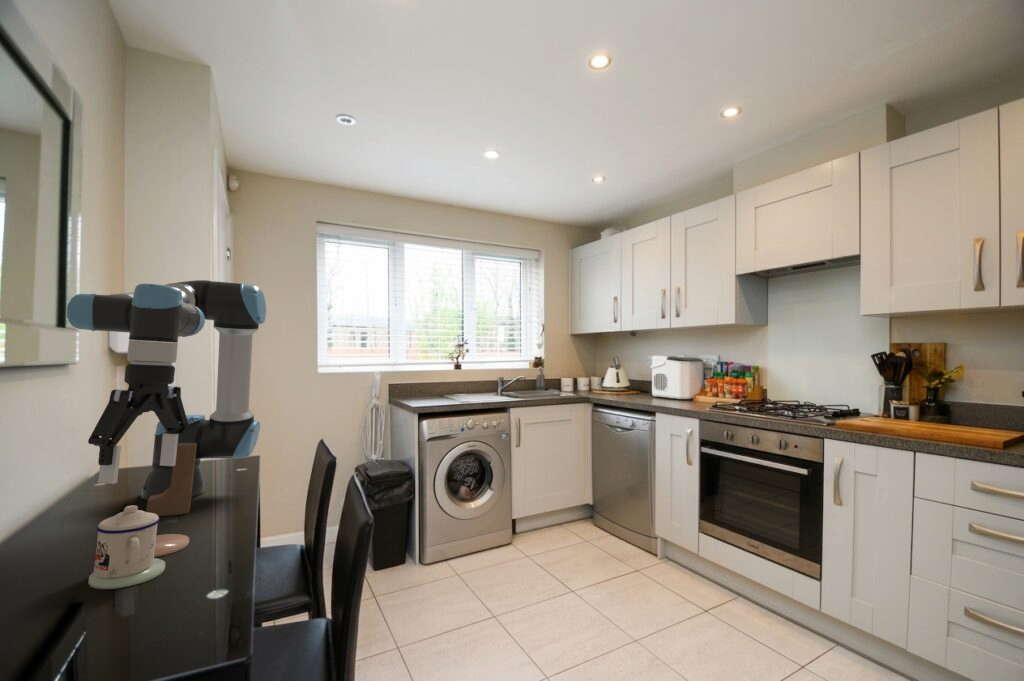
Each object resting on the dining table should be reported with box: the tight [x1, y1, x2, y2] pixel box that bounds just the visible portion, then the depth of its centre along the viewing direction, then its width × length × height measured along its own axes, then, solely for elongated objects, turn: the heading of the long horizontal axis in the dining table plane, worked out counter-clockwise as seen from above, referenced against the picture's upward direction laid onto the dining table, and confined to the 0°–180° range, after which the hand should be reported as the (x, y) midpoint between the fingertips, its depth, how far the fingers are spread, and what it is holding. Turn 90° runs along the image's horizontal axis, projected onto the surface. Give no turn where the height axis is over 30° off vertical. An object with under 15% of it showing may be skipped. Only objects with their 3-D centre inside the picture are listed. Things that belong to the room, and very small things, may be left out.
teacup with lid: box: [93, 504, 160, 579], centre depth 84 cm, size 12×9×12 cm
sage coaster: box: [88, 557, 166, 590], centre depth 84 cm, size 11×11×1 cm
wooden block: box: [145, 443, 197, 518], centre depth 117 cm, size 9×4×18 cm, turn 122°
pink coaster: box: [154, 533, 190, 558], centre depth 96 cm, size 11×11×1 cm
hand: (139, 473), depth 85 cm, fingers open, 13 cm apart
